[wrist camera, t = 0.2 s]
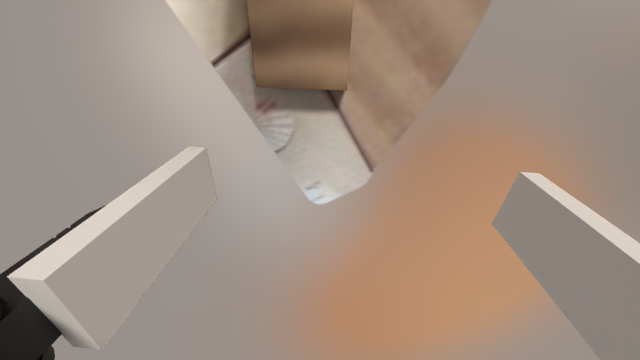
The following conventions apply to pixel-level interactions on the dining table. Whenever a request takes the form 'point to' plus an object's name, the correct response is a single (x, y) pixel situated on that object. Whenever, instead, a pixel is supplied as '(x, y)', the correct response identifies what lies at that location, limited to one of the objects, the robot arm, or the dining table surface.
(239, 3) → the dining table surface
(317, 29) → the walnut block
